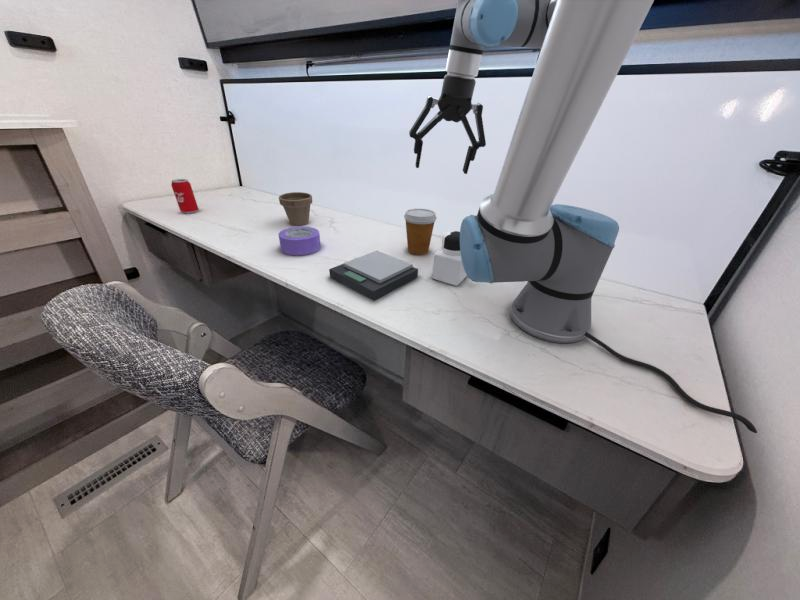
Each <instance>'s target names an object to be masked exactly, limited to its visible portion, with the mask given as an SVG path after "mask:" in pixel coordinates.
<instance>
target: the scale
mask: <svg viewBox="0 0 800 600" xmlns="http://www.w3.org/2000/svg"><path fill="white" fill-rule="evenodd" d="M328 272H329V278H330V279H331V280H334V281H335V282H337V283H339V284H341V285H343V286H344V287H347V288H349V289H351V290H352V291H354V292H355V293H358V294H359V295H362V296H364V297H365V298H367V299H369V300H371V301H373V302H374V301H377V300H378V299H380V298H382V297H384V296H386V295H388V294H389V293H392V292H393V291H395V290H397V289H399V288H401V287H402V286H405V285H406V284H408V283H410V282H413V281H414V280H416V279H418V278H419V268H416V267H414V266H413V263H410V262H408V261H405V260H402V259H400V258H398V257H395V256H392V255H390V254H388V253H385V252H382V251H379V250H374V251H372V252H369V253H366V254H364V255H360V256H359V257H356V258H353V259H351V260H349V261H346V262H343V263H341V264H339V265H337V266H333V267H331V268H329V269H328Z"/></svg>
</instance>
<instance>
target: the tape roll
mask: <svg viewBox="0 0 800 600" xmlns="http://www.w3.org/2000/svg"><path fill="white" fill-rule="evenodd" d="M277 236H278V239H279V246H280V250H281V251H280V252H282V253H284V254H286V255H288V256H307V255H312V254H315V253H316V252H318V251H320V250H321V247H322V246H321V236H320V230H318V229H317V228H315V227H311V226H305V225H301V226H291V227H286V228H283V229H281V230H280V231H279V232H278V235H277Z"/></svg>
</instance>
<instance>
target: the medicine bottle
mask: <svg viewBox="0 0 800 600" xmlns="http://www.w3.org/2000/svg"><path fill="white" fill-rule="evenodd" d="M431 273H432V275H431V278H432V279H433V280H435V281H438V282H441V283H445V284H448V285H451V286H455V287H457V286H458V285H460V284H461V283H462V282H463V281H464V280H465V278H466V277H468V276H467V275H466V273H465V270H464V267H463V264H462V259H461V252H460V231H458V230H449V231H446V232H444V233H443V234H442V238H441V247H440V249H439V250H438V251H436V252H435V253H434V254H433V264H432V272H431Z"/></svg>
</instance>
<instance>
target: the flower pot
mask: <svg viewBox="0 0 800 600" xmlns="http://www.w3.org/2000/svg"><path fill="white" fill-rule="evenodd" d="M278 202H279V205H280V206H281V207H283V210H284V212H285V214H286V216H287V219H288V222H289V224H290V225H291V226H294V227H298V226H305V225H307V224H309V222H310V211H311V204H313V195H312V194H311V193H307V192H301V191H300V192H299V191H296V192H295V191H293V192H286V193H282V194H280V195H279V196H278Z"/></svg>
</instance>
